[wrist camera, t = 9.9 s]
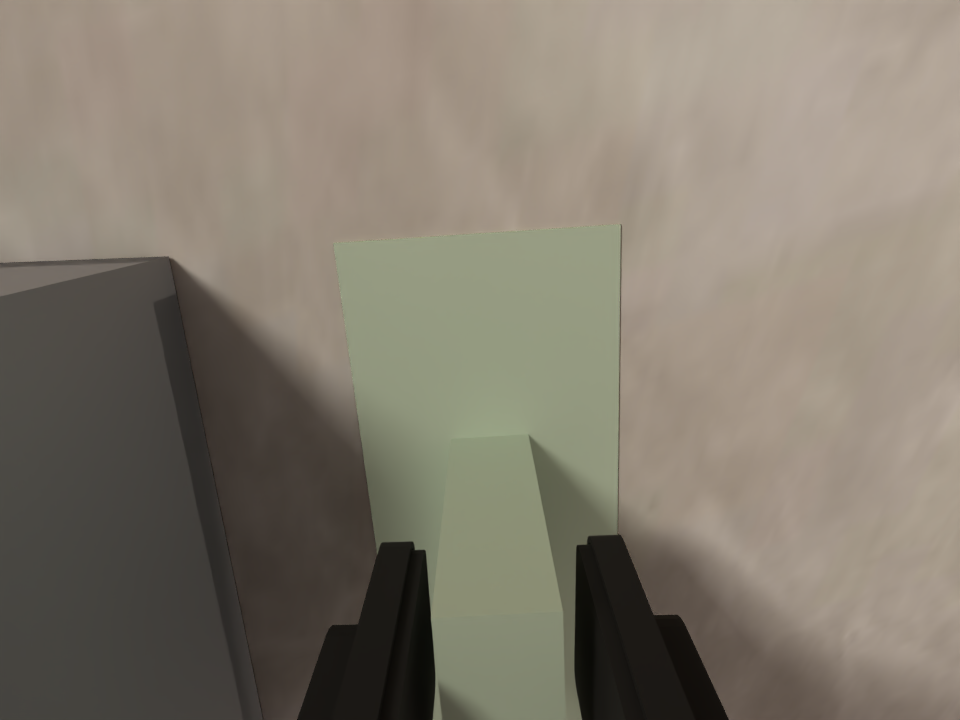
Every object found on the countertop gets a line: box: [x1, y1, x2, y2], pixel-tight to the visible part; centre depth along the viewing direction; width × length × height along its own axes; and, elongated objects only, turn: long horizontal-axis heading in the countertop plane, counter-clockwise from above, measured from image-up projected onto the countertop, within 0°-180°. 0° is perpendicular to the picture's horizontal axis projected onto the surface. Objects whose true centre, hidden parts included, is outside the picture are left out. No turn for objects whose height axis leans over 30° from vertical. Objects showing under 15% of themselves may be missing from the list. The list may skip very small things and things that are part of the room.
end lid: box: [333, 224, 621, 720], centre depth 10 cm, size 13×5×6 cm, turn 4°
